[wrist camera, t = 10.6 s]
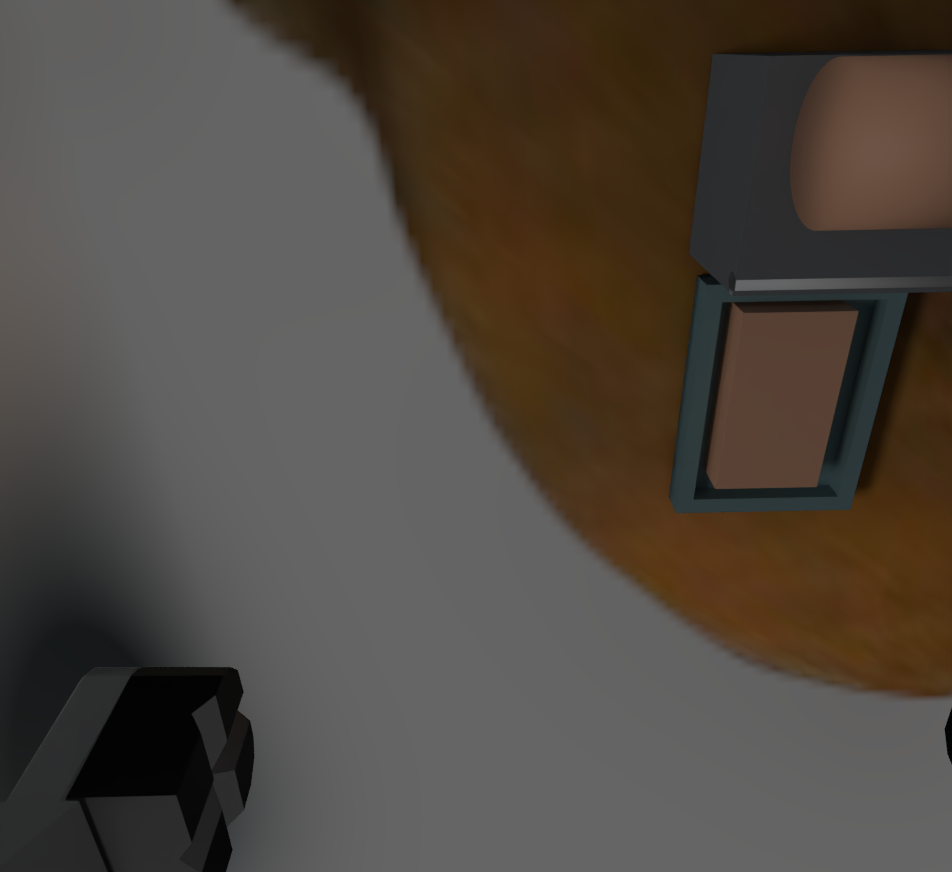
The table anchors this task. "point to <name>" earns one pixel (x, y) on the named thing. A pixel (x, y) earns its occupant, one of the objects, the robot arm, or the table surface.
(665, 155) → the table surface
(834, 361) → the ticket
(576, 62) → the table surface
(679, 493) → the tray
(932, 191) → the dispenser
